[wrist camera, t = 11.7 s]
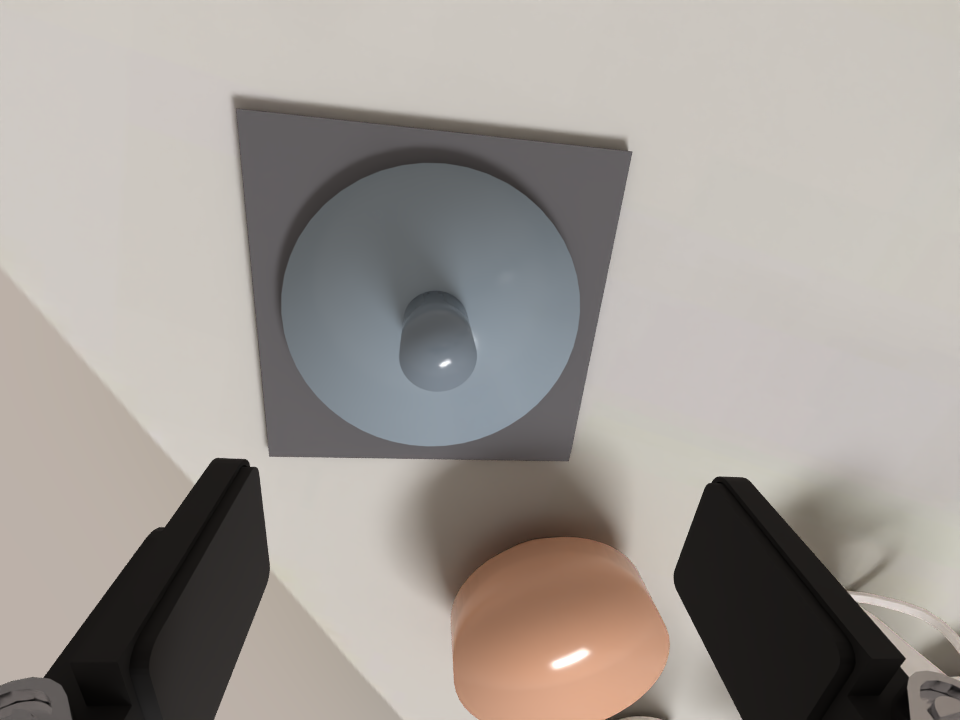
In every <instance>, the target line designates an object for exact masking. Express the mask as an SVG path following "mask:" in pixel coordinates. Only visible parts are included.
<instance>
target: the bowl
mask: <svg viewBox="0 0 960 720" xmlns="http://www.w3.org/2000/svg"><path fill="white" fill-rule="evenodd" d="M451 636H452V654H453V671H454V684H455V689H456V693H457V695H458V697H459V700H460V701H461V703H462V704H463V706H464V707H465V708H466V709H467V710H468V711H469V712H470V713H471V714H472V715H473V716H475V717H476V718H478V719H479V720H605V719H607V718H609V717H611V716H613V715H615V714H617V713H619V712H621V711H622V710H624V709H625V708H627V707H629V706H630V705H632V704H633V703H634V702H635V701H637V700H638V699H639V698H641V697H642V696H643V695H644V694H645V693H646V692H647V691H648V690H649V689H650V688H651V687H652V685H653V684H654V683H655V682H656V681H657V679H658V678H659V676H660V674H661V673H662V671H663V669H664V667H665V665H666V662H667V659H668V655H669V647H670V643H669V635H668V632H667V629H666V626H665V624H664V622H663V620H662V618H661V616H660V614H659V612H658V610H657V608H656V606H655V604H654V602H653V600H652V598H651V596H650V594H649V592H648V590H647V588H646V586H645V584H644V582H643V580H642V578H641V576H640V574H639V572H638V571H637V569H636V567H635V566H634V564H633V563H632V562H631V561H630V560H629V559H628V558H627V557H626V556H625V555H624V554H622V553H621V552H620V551H618V550H616V549H615V548H613V547H611V546H608V545H606V544H604V543H601V542H598V541H594V540H591V539H584V538H578V537H554V538H540V539H534V540H530V541H526V542H523V543H521V544H518V545H516V546H514V547H512V548H510V549H508V550H506V551H504V552H502V553H500V554H498V555H496V556H495V557H493V558H491V559H490V560H488V561H487V562H485V563H484V564H483V565H482V566H480V567H479V568H478V569H477V570H476V571H475V572H474V573H473V574H472V575H470V576H469V577H468V579H467V580H466V581H465V583H464V584H463V585H462V586H461V588H460V590H459V592H458V593H457V595H456V598H455V600H454V603H453V606H452V611H451Z"/></svg>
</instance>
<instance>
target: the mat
mask: <svg viewBox="0 0 960 720" xmlns="http://www.w3.org/2000/svg"><path fill="white" fill-rule="evenodd" d="M236 113H237V123H238V134H239V144H240V155H241V165H242V176H243V186H244V197H245V207H246V218H247V228H248V238H249V249H250V259H251V270H252V280H253V291H254V301H255V312H256V322H257V333H258V343H259V354H260V364H261V375H262V385H263V395H264V406H265V416H266V427H267V437H268V448H269V457H333V458H397V459H461V460H525V461H569V458H570V454H571V449H572V444H573V439H574V434H575V429H576V424H577V419H578V415H579V410H580V405H581V400H582V395H583V390H584V385H585V380H586V376H587V371H588V366H589V361H590V356H591V351H592V346H593V341H594V337H595V332H596V327H597V322H598V317H599V312H600V307H601V302H602V298H603V293H604V288H605V283H606V278H607V273H608V268H609V263H610V259H611V254H612V249H613V244H614V239H615V234H616V229H617V224H618V219H619V215H620V210H621V205H622V200H623V195H624V190H625V185H626V180H627V176H628V171H629V166H630V161H631V156H632V152H631V151H622V150H613V149H604V148H594V147H585V146H576V145H567V144H558V143H548V142H539V141H530V140H521V139H512V138H502V137H493V136H484V135H475V134H465V133H456V132H447V131H438V130H429V129H419V128H410V127H401V126H392V125H383V124H373V123H364V122H355V121H346V120H337V119H327V118H318V117H309V116H300V115H291V114H281V113H272V112H263V111H254V110H244V109H236ZM415 163H447V164H453V165H459V166H465V167H469V168H472V169H475V170H478V171H481V172H484V173H487V174H489V175H491V176H493V177H495V178H497V179H500V180H502V181H504V182H506V183H508V184H509V185H511V186H512V187H514V188H515V189H517V190H518V191H520V192H521V193H523V194H524V195H526V196H527V197H528V198H529V199H530V200H531V201H532V202H533V203H535V204H536V205H537V206H538V207H539V208H540V209H541V210H542V211H543V212H544V214H545V215H546V216H547V217H548V218H549V220H550V221H551V222H552V223H553V224H554V226H555V227H556V229H557V231H558V232H559V234H560V235H561V237H562V239H563V240H564V242H565V244H566V247H567V249H568V251H569V253H570V255H571V258H572V261H573V264H574V268H575V271H576V274H577V279H578V286H579V293H580V316H579V324H578V331H577V335H576V339H575V343H574V347H573V349H572V352H571V354H570V357H569V359H568V362H567V364H566V366H565V368H564V370H563V371H562V373H561V375H560V377H559V378H558V380H557V381H556V383H555V384H554V385H553V387H552V388H551V389H550V391H549V392H548V393H547V394H546V395H545V397H544V398H543V399H542V400H541V401H540V402H539V403H538V404H537V405H536V406H535V407H534V408H532V409H531V410H530V411H529V412H528V413H527V414H525V415H524V416H523V417H521V418H520V419H518V420H517V421H515V422H514V423H512V424H511V425H509V426H507V427H505V428H503V429H501V430H499V431H497V432H496V433H493V434H491V435H488V436H485V437H483V438H480V439H477V440H473V441H469V442H465V443H461V444H454V445H447V446H416V445H407V444H402V443H397V442H392V441H389V440H386V439H382V438H379V437H376V436H374V435H372V434H369V433H367V432H365V431H362V430H360V429H358V428H357V427H355V426H353V425H352V424H350V423H348V422H346V421H345V420H343V419H342V418H341V417H339V416H338V415H337V414H335V413H334V412H333V411H332V410H330V409H329V408H328V407H327V406H326V405H325V404H324V403H323V402H322V401H321V400H320V399H319V398H318V397H317V396H316V395H315V393H314V392H313V391H312V390H311V388H310V387H309V386H308V385H307V383H306V382H305V380H304V379H303V377H302V375H301V374H300V372H299V370H298V369H297V367H296V365H295V362H294V360H293V358H292V356H291V353H290V351H289V348H288V345H287V341H286V338H285V334H284V329H283V322H282V315H281V294H282V287H283V280H284V274H285V271H286V267H287V264H288V261H289V258H290V255H291V253H292V251H293V248H294V246H295V244H296V242H297V240H298V238H299V236H300V235H301V233H302V232H303V230H304V229H305V227H306V226H307V224H308V223H309V221H310V220H311V219H312V218H313V217H314V215H315V214H316V213H317V212H318V211H319V210H320V209H321V208H322V207H323V206H324V204H326V203H327V202H328V201H329V200H331V199H332V198H333V197H334V196H335V195H337V194H338V193H339V192H340V191H342V190H343V189H345V188H347V187H348V186H350V185H352V184H353V183H355V182H357V181H358V180H360V179H362V178H364V177H367V176H369V175H371V174H374V173H376V172H378V171H381V170H384V169H388V168H392V167H396V166H400V165H406V164H415Z"/></svg>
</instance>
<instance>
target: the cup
mask: <svg viewBox="0 0 960 720" xmlns="http://www.w3.org/2000/svg"><path fill="white" fill-rule="evenodd" d="M847 592H848V593H849V594H850V595H851V597H852V598H853V599H854V600H855V601H856V602H859V603H868V604H872V605H876V606H880V607H884V608H888V609H892V610H896V611H900V612H903V613H906V614H909V615H911V616H914V617H917V618H920V619H922V620H924V621H925V622H927V623H928V624H930V625H931V626H933V627H934V628H936V629H937V630H939V631H940V632H941V633H942V634H943V635H944V636H945V637H946V638H947V639H948V640H949V641H950V643H951V644H952V645H953V646H954V647H955V649H956V650H957V651H958V653H959V654H960V637H959V636H958V635H957V634H956V632H955V631H954V630H953V629H952V628H951V627H950V626H949V625H948V624H947V623H946V622H944V621H943V620H941V619H940V618H938V617H937V616H935V615H934V614H932V613H930V612H929V611H927V610H925V609H923V608H920V607H918V606H915V605H912V604H910V603H907V602H904V601H900V600H896V599H892V598H888V597H884V596H879V595H875V594H870V593H864V592H855V591H847ZM859 606H860V605H859ZM860 607H861V606H860ZM861 608H862V607H861ZM862 609H863V610H864V611H865V613H866V614H867V615H868V616H869V617H870V618H871V619H872V620H873V622H874V623H875V624H876V625H877V626H878V627H879V628H880V630H881V631H882V632H883V633H884V634H885V635H886V636H887V637H888V639H889V640H890V641H891V642H892V643H893V644H894V645H895V647H896V648H897V649H898V650H899V651H900V652H901V653H902V655H903V656H904V657H905V658H906V660H905V661H904V662H903V664H902V665H901V666H900V667H901V668H902V669H903V671H904V672H905V673H906V674H907V675H908V676H909V677H910V676H911V675H912V674H914V673H915V672H918V671H932V672H937V673H942V674H944V675H946V674H945V673H943V672H942V671H941V670H940V669H939V668H937V667H936V666H935V665H934V664H933V663H931V662H930V661H929V660H928V659H926V658H925V657H924V656H923V655H921V654H920V653H919V652H918V651H916V650H915V649H914V648H913V647H912V646H910V645H909V644H908V643H907V642H906V641H904V640H903V639H902V638H901V637H900V636H898V635H897V634H896V633H895V632H894V631H893V630H891V629H890V628H889V627H888V626H887V625H885V624H884V623H883V622H882V621H881V620H879V619H878V618H877V617H875V616H874V615H872V614H871V613H870V612H868V611H867V610H865V609H864V608H862ZM952 678H954V679H956V680H959V681H960V676H958V677H952Z"/></svg>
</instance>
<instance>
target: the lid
mask: <svg viewBox="0 0 960 720" xmlns="http://www.w3.org/2000/svg"><path fill="white" fill-rule="evenodd" d="M281 315H282V322H283V329H284V334H285V338H286V341H287V345H288V348H289V351H290V353H291V356H292V358H293V360H294V362H295V365H296V367H297V369H298V370H299V372H300V374H301V375H302V377H303V379H304V380H305V382H306V383H307V385H308V386H309V387H310V388H311V390H312V391H313V392H314V393H315V395H316V396H317V397H318V398H319V399H320V400H321V401H322V402H323V403H324V404H325V405H326V406H327V407H328V408H329V409H330V410H332V411H333V412H334V413H335V414H337V415H338V416H339V417H341V418H342V419H343V420H345V421H346V422H348V423H350V424H352V425H353V426H355V427H357V428H358V429H360V430H362V431H365V432H367V433H369V434H372V435H374V436H376V437H379V438H382V439H386V440H389V441H392V442H397V443H402V444H407V445H416V446H447V445H454V444H461V443H465V442H469V441H473V440H477V439H480V438H483V437H485V436H488V435H491V434H493V433H496V432H497V431H499V430H501V429H503V428H505V427H507V426H509V425H511V424H512V423H514V422H515V421H517V420H518V419H520V418H521V417H523V416H524V415H525V414H527V413H528V412H529V411H530V410H531V409H532V408H534V407H535V406H536V405H537V404H538V403H539V402H540V401H541V400H542V399H543V398H544V397H545V395H546V394H547V393H548V392H549V391H550V389H551V388H552V387H553V385H554V384H555V383H556V381H557V380H558V378H559V377H560V375H561V373H562V371H563V370H564V368H565V366H566V364H567V362H568V359H569V357H570V354H571V352H572V349H573V347H574V343H575V339H576V335H577V331H578V324H579V316H580V293H579V286H578V279H577V274H576V271H575V268H574V264H573V261H572V258H571V255H570V253H569V251H568V249H567V247H566V244H565V242H564V240H563V239H562V237H561V235H560V234H559V232H558V231H557V229H556V227H555V226H554V224H553V223H552V222H551V221H550V220H549V218H548V217H547V216H546V215H545V214H544V212H543V211H542V210H541V209H540V208H539V207H538V206H537V205H536V204H535V203H533V202H532V201H531V200H530V199H529V198H528V197H527V196H526V195H524V194H523V193H521V192H520V191H518V190H517V189H515V188H514V187H512V186H511V185H509V184H508V183H506V182H504V181H502V180H500V179H497V178H495V177H493V176H491V175H489V174H487V173H484V172H481V171H478V170H475V169H472V168H469V167H465V166H459V165H453V164H447V163H415V164H406V165H400V166H396V167H392V168H388V169H384V170H381V171H378V172H376V173H374V174H371V175H369V176H367V177H364V178H362V179H360V180H358V181H357V182H355V183H353V184H352V185H350V186H348V187H347V188H345V189H343V190H342V191H340V192H339V193H338V194H337V195H335V196H334V197H333V198H332V199H331V200H329V201H328V202H327V203H326V204H324V206H323V207H322V208H321V209H320V210H319V211H318V212H317V213H316V214H315V215H314V217H313V218H312V219H311V220H310V221H309V223H308V224H307V226H306V227H305V229H304V230H303V232H302V233H301V235H300V236H299V238H298V240H297V242H296V244H295V246H294V248H293V251H292V253H291V255H290V258H289V261H288V264H287V267H286V271H285V274H284V280H283V287H282V294H281Z"/></svg>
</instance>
